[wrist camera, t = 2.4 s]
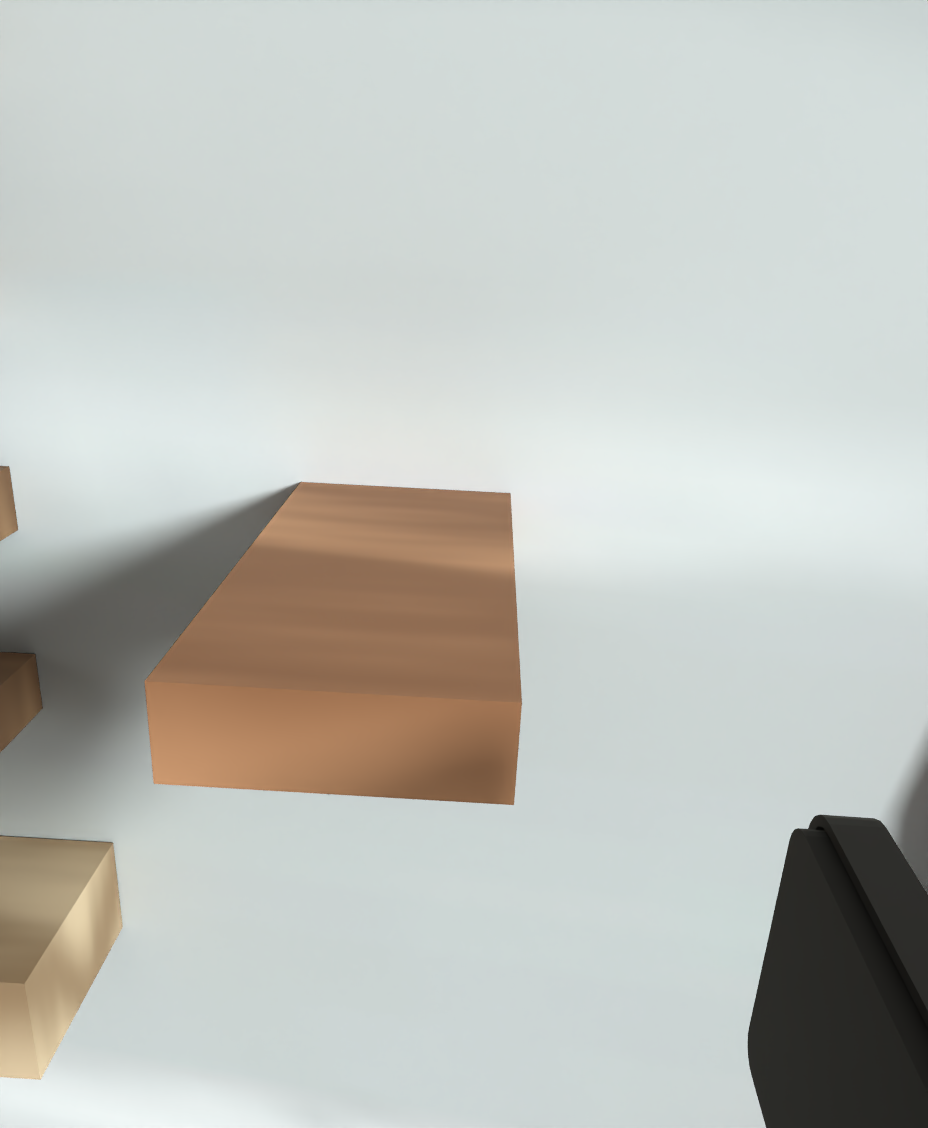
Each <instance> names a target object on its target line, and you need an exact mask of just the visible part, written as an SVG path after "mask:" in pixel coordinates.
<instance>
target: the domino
mask: <svg viewBox="0 0 928 1128" xmlns="http://www.w3.org/2000/svg"><path fill="white" fill-rule="evenodd" d="M145 692H146V702H147V713H148V724H149V735H150V746H151V757H152V768H153V779H154V784H169V785H185V786H202V787H219V788H236V789H253V790H270V791H287V792H304V793H321V794H338V795H355V796H371V797H388V798H405V799H422V800H439V801H456V802H473V803H490V804H507V805H514V796H515V783H516V770H517V757H518V745H519V732H520V719H521V706H522V698H521V680H520V661H519V643H518V624H517V606H516V588H515V569H514V551H513V532H512V514H511V495H510V493H495V492H476V491H458V490H439V489H420V488H402V487H383V486H364V485H346V484H327V483H308V482H300V483H299V485H298V486H297V487H296V489H295V490H294V491H293V492H292V494H291V495H290V496H289V497H288V499H287V500H286V501H285V503H284V504H283V505H282V506H281V508H280V509H279V510H278V512H277V513H276V514H275V515H274V517H273V518H272V519H271V520H270V522H269V523H268V524H267V526H266V527H265V528H264V529H263V531H262V532H261V533H260V535H259V536H258V537H257V538H256V540H255V541H254V542H253V543H252V545H251V546H250V547H249V549H248V550H247V551H246V552H245V554H244V555H243V556H242V557H241V559H240V560H239V561H238V563H237V564H236V565H235V566H234V568H233V569H232V570H231V572H230V573H229V574H228V575H227V577H226V578H225V579H224V580H223V582H222V583H221V584H220V586H219V587H218V588H217V589H216V591H215V592H214V593H213V595H212V596H211V597H210V598H209V600H208V601H207V602H206V603H205V605H204V606H203V607H202V609H201V610H200V611H199V612H198V614H197V615H196V616H195V617H194V619H193V620H192V621H191V623H190V624H189V625H188V626H187V628H186V629H185V630H184V632H183V633H182V634H181V635H180V637H179V638H178V639H177V640H176V642H175V643H174V644H173V646H172V647H171V648H170V649H169V651H168V652H167V653H166V655H165V656H164V657H163V658H162V660H161V661H160V662H159V663H158V665H157V666H156V667H155V669H154V670H153V671H152V672H151V674H150V675H149V676H148V677H147V679H146V680H145Z"/></svg>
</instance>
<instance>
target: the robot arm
mask: <svg viewBox="0 0 928 1128" xmlns="http://www.w3.org/2000/svg"><path fill="white" fill-rule="evenodd" d="M748 1058H749V1065H750V1070H751V1075H752V1078H753V1082H754V1085H755V1089H756V1093H757V1096H758V1100H759V1103H760V1107H761V1110H762V1114H763V1118H764V1121H765V1125H766V1128H928V895H927V893H926V891H925V890H924V888H923V887H922V885H921V883H920V882H919V880H918V879H917V877H916V875H915V874H914V872H913V870H912V869H911V867H910V866H909V864H908V862H907V861H906V859H905V857H904V856H903V854H902V853H901V851H900V849H899V848H898V846H897V845H896V843H895V841H894V840H893V838H892V836H891V835H890V833H889V832H888V830H887V828H886V827H885V826H884V825H883V823H882V822H881V821H879V820H877V819H873V818H859V817H845V816H831V815H817V816H815V817H814V818H813V820H812V821H811V823H810V825H809V828H808V829H799V828H798V829H795V830H794V831H793V833H792V835H791V838H790V841H789V845H788V850H787V855H786V859H785V864H784V869H783V873H782V878H781V882H780V887H779V892H778V896H777V901H776V906H775V910H774V915H773V920H772V924H771V929H770V933H769V938H768V943H767V947H766V952H765V957H764V961H763V966H762V970H761V975H760V980H759V984H758V989H757V994H756V998H755V1003H754V1008H753V1012H752V1017H751V1021H750V1026H749V1032H748Z"/></svg>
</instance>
